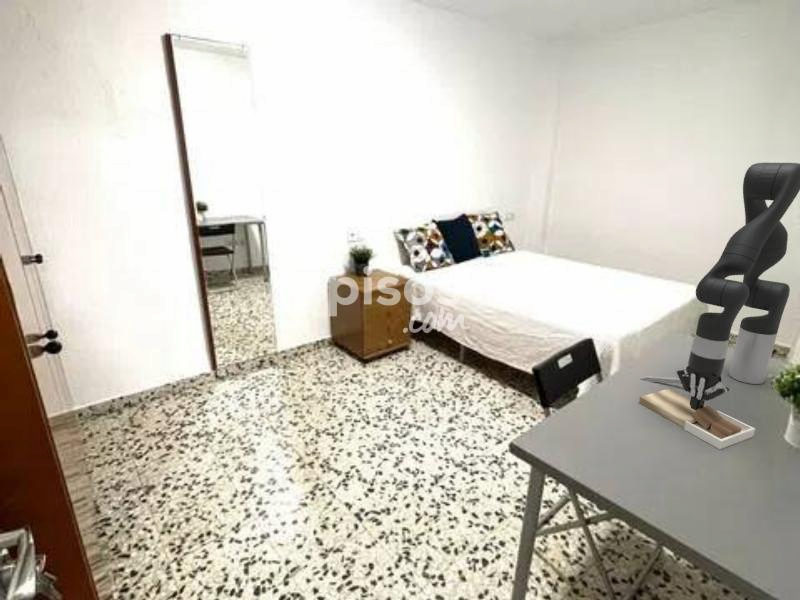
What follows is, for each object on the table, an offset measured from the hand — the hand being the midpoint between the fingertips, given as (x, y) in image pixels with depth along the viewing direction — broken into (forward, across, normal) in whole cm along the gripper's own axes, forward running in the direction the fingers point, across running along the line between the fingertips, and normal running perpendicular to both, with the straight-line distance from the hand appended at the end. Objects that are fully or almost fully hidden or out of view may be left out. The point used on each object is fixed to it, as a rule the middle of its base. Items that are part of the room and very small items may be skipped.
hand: (695, 408), depth 114 cm
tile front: (+3, -8, 0) cm, 9 cm away
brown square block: (+2, -3, 0) cm, 4 cm away
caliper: (+4, +14, -13) cm, 20 cm away
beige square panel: (+4, +5, 0) cm, 6 cm away
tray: (+4, -6, 0) cm, 7 cm away
